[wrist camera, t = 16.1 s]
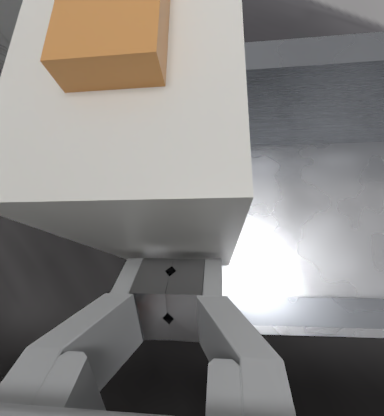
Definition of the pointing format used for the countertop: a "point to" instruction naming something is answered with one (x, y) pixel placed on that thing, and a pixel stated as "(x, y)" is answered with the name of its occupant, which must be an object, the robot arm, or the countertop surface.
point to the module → (128, 125)
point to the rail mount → (314, 189)
